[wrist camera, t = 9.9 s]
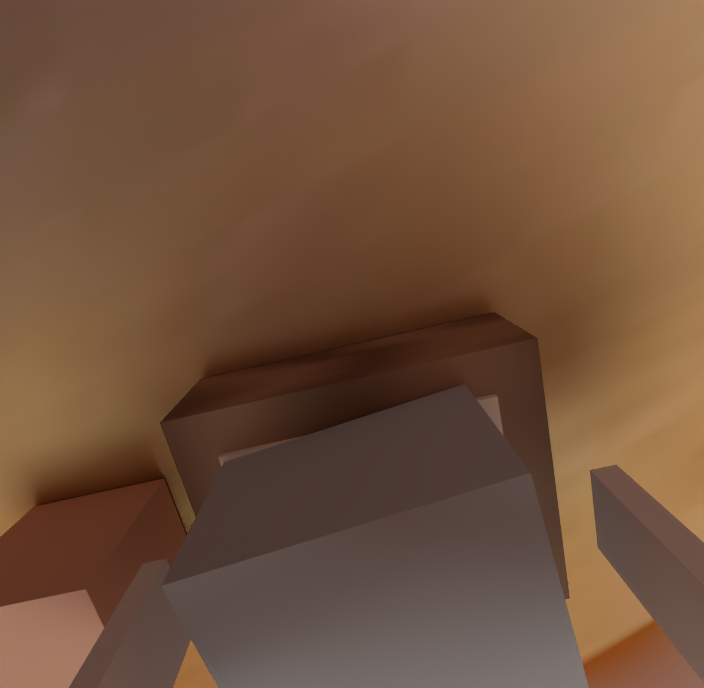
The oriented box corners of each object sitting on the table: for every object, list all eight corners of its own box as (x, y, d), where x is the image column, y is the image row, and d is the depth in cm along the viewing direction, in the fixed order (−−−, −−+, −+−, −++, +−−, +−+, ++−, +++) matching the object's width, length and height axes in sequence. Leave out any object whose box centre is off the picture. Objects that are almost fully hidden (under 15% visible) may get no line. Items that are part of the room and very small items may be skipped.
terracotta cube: (86, 613, 21) (-14, 761, 15) (33, 506, 19) (-99, 627, 14) (207, 588, 21) (153, 730, 15) (164, 478, 19) (85, 589, 13)
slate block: (311, 646, 16) (297, 825, 11) (223, 461, 14) (161, 586, 9) (524, 584, 16) (604, 746, 11) (464, 383, 14) (530, 472, 9)
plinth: (268, 578, 20) (249, 665, 16) (200, 379, 18) (157, 425, 14) (526, 525, 20) (572, 602, 16) (494, 312, 17) (539, 339, 13)
